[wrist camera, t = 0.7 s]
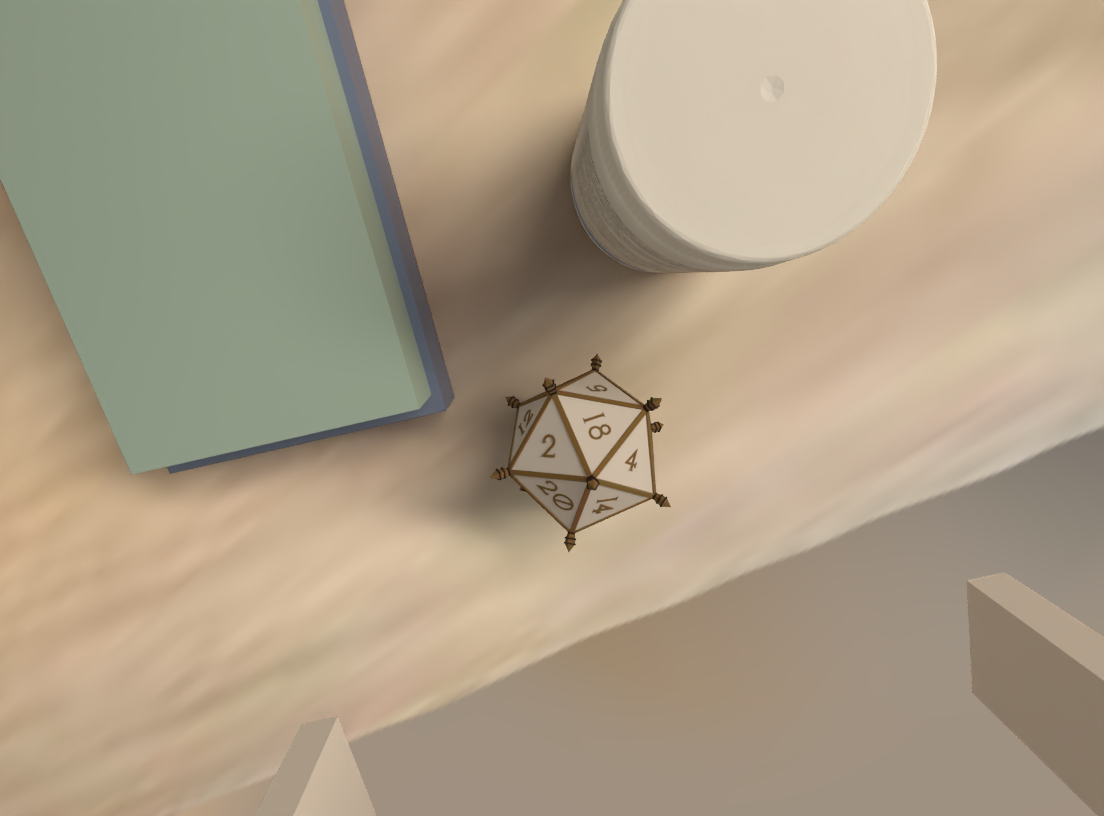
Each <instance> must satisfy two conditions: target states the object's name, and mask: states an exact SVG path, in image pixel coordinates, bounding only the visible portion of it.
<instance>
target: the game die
mask: <svg viewBox="0 0 1104 816" xmlns="http://www.w3.org/2000/svg"><path fill="white" fill-rule="evenodd" d="M591 361H592V363H591V366H592V370H590V371H588V372H586V373H584V374H582V375H580V376H578V377H576V378H573V379H571V380H569V381H567V382H565V383H563V384H561V385H559V386H556V384H554V380H550V379H548V378H545V380H544V384H543V385H542V386H543V387H544V388H545V390H546V392H544V393H541V394H539V395H537V396H535V397H533V398H531V399H529V400H527V401H524V402H522V403H519V400H518V399H515V397H514V396H513V397H506V399H507V402H508V406H512V408H517V414H516V421H515V427H514V433H513V439H512V445H511V451H510V457H509V463H508V468H506V469H504V468H502V467H501V469H496V471H495V472H494V473H493V475H492V476H491V478H495V479H498V480H502V478H503V479H504V478H506V477H507V476H508V475H509V476H511V477H512V478H513V479H514V480H515V481H516V482H517V483H518V484H519V485H520V486H521V487H520V490H522V491H525V492H527V493H528V494H529V495H530V496H531V497H532V498H533V499H534V500H535V501H536V502H538V503H539V504H540V505H541V506H542V507H543V508H544V509H545V510H546V511H547V512H548V513H549V514H550V515H551V516H552V517H553V518H554V519H555V520H556V521H557V522H558V523H559V524H560V525H561V526H562V527H563V528H565V529H566V530H567V531H568V534H567V536H566V537H565V538H566V540H565V542H564V543H565V545H566V547H567V549H568V552H569V551H570V550H571V549H572V548H573V546H574V545H576V544H575V540H576V539H575V533H576V532H578V531H581V530H583V529H585V528H587V527H590V526H592V525H594V524H596V523H599V522H601V521H603V520H605V519H608V518H610V517H612V516H614V515H617V514H619V513H621V512H623V511H626V510H628V509H630V508H632V507H635V506H637V505H639V504H641V503H643V502H646V501H648V500H650V499H654V500H655V501H656V504H657V503H658V504H659V505H660V507H662V506H663V507H671V506H670V504H669V502H668V500H667V497H664V496H663V494H662V495H660V494H657V493H656V484H655V470H654V455H653V440H652V432H654V433H656V432H657V431H658V432H660V430H661V428H662V426H663V424H661V423H659V422H655V423H652V424H651V422H650V415H649V411H653V410H654V409H657V408H658V407H659V404H660V402H661V399H662V398H652V397H651V399H650V400H647V403H646V404H645V405H644V404H642V403H641V402H640V401H638V400H637V399H636V398H634V397H633V396H632V395H630V394H629V393H627V392H626V391H625V390H623V389H622V388H621V387H619V386H618V385H617V384H615V383H614V382H612V381H611V380H610V379H608V378H607V377H606V376H604V375H603V374H602V373H600V372H599V367H601V365H600V364H601V362H602V361H601V360H600V358H599V356H598V354H597V355H596V356H595V357H594V358H593V359H591Z"/></svg>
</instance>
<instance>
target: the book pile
mask: <svg viewBox="0 0 1104 816" xmlns="http://www.w3.org/2000/svg"><path fill="white" fill-rule="evenodd" d="M0 180H1V182H2V184H3V186H4V189H5V191H6V193H7V195H8V198H9V200H10V202H11V204H12V207H13V209H14V211H15V213H16V216H17V218H18V220H19V222H20V225H21V227H22V229H23V231H24V234H25V236H26V238H27V240H28V243H29V245H30V247H31V249H32V252H33V254H34V256H35V258H36V261H37V263H38V265H39V267H40V270H41V272H42V274H43V276H44V279H45V281H46V283H47V285H48V288H49V290H50V292H51V294H52V297H53V299H54V301H55V303H56V306H57V308H58V310H59V312H60V315H61V317H62V319H63V321H64V324H65V326H66V328H67V331H68V333H69V335H70V337H71V340H72V342H73V344H74V346H75V349H76V351H77V353H78V355H79V358H80V360H81V362H82V364H83V367H84V369H85V371H86V373H87V376H88V378H89V380H90V382H91V385H92V387H93V389H94V391H95V394H96V396H97V398H98V400H99V403H100V405H101V407H102V409H103V412H104V414H105V416H106V418H107V421H108V423H109V425H110V427H111V430H112V432H113V434H114V436H115V439H116V441H117V443H118V445H119V448H120V450H121V452H122V454H123V457H124V459H125V461H126V463H127V466H128V468H129V470H130V472H131V475H133V474H137V473H142V472H146V471H150V470H155V469H159V468H164V467H168V470H169V472H170V474H171V473H175V472H179V471H184V470H188V469H193V468H197V467H201V466H206V465H210V464H215V463H219V462H223V461H228V460H232V459H236V458H241V457H245V456H250V455H254V454H258V453H263V452H267V451H272V450H276V449H280V448H285V447H289V446H293V445H298V444H302V443H307V442H311V441H315V440H320V439H324V438H329V437H333V436H337V435H342V434H346V433H351V432H355V431H359V430H364V429H368V428H372V427H377V426H381V425H386V424H390V423H394V422H399V421H403V420H408V419H412V418H416V417H421V416H425V415H429V414H434V413H438V412H443V411H446V410H447V408H448V407H449V405H450V404H451V402H452V400H453V399H454V394H453V391H452V387H451V384H450V380H449V376H448V373H447V369H446V366H445V362H444V359H443V355H442V351H441V348H440V344H439V341H438V337H437V333H436V330H435V326H434V323H433V319H432V316H431V312H430V308H429V305H428V301H427V298H426V294H425V290H424V287H423V283H422V280H421V276H420V273H419V269H418V265H417V262H416V258H415V255H414V251H413V247H412V244H411V240H410V237H409V233H408V230H407V226H406V222H405V219H404V215H403V212H402V208H401V204H400V201H399V197H398V194H397V190H396V187H395V183H394V179H393V176H392V172H391V169H390V165H389V161H388V158H387V154H386V151H385V147H384V144H383V140H382V136H381V133H380V129H379V126H378V122H377V118H376V115H375V111H374V108H373V104H372V100H371V97H370V93H369V90H368V86H367V83H366V79H365V75H364V72H363V68H362V65H361V61H360V57H359V54H358V50H357V47H356V43H355V40H354V36H353V32H352V29H351V25H350V22H349V18H348V14H347V11H346V7H345V4H344V0H0Z"/></svg>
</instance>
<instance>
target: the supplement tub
mask: <svg viewBox="0 0 1104 816" xmlns="http://www.w3.org/2000/svg"><path fill="white" fill-rule="evenodd" d="M936 74H937V54H936V40H935V32H934V26H933V21H932V17H931V14H930V10H929V6H928V2H927V0H623V2H622V4H621V6H620V7H619V9H618V11H617V13H616V15H615V17H614V19H613V21H612V22H611V25H610V28H609V30H608V33H607V35H606V38H605V40H604V43H603V46H602V50H601V53H600V55H599V58H598V62H597V66H596V69H595V73H594V76H593V80H592V83H591V87H590V91H589V94H588V98H587V102H586V106H585V110H584V113H583V116H582V120H581V123H580V128H579V132H578V135H577V139H576V143H575V146H574V150H573V155H572V162H571V175H570V178H571V191H572V197H573V201H574V205H575V209H576V212H577V214H578V217H579V220H580V222H581V224H582V226H583V228H584V229H585V231H586V232H587V234H588V235H589V237H590V238H591V239H592V241H593V242H594V243H595V244H596V245H597V246H598V247H599V248H600V249H601V250H602V251H603V252H604V253H605V254H606V255H608V256H609V257H611V258H612V259H613V260H615V261H617V262H619V263H620V264H622V265H624V266H627V267H629V268H632V269H635V270H639V271H645V272H652V273H688V272H729V271H744V270H754V269H760V268H765V267H769V266H774V265H777V264H780V263H783V262H786V261H789V260H792V259H796V258H799V257H802V256H806V255H808V254H811V253H814V252H816V251H819V250H821V249H823V248H825V247H827V246H829V245H831V244H833V243H835V242H837V241H838V240H840V239H841V238H843V237H844V236H846V235H847V234H849V233H850V232H852V231H853V230H854V229H856V228H857V227H858V226H860V225H861V224H863V223H864V222H865V221H866V220H867V219H868V218H869V217H870V216H871V215H872V214H873V213H874V212H875V211H876V210H878V209H879V208H880V206H881V205H882V204H883V203H884V202H885V201H886V199H887V198H888V197H889V196H890V195H891V193H892V192H893V191H894V190H895V188H896V187H897V185H898V184H899V182H900V181H901V179H902V178H903V177H904V175H905V173H906V172H907V170H908V168H909V166H910V164H911V163H912V161H913V159H914V157H915V155H916V153H917V151H918V148H919V146H920V144H921V141H922V139H923V136H924V134H925V131H926V128H927V124H928V121H929V117H930V114H931V109H932V105H933V100H934V93H935V85H936Z"/></svg>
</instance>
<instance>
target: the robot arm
mask: <svg viewBox="0 0 1104 816" xmlns="http://www.w3.org/2000/svg"><path fill="white" fill-rule="evenodd" d="M967 597H968V598H967V599H968V616H969V635H970V654H971V674H972V693H973V694H974V695H975V696H976V697H977V698H978V699H979V700H980V701H981V702H982V703H983V704H984V705H985V706H986V707H987V708H988V709H989V710H990V711H991V712H992V713H993V714H995V715H996V716H997V717H998V718H999V719H1000V720H1001V721H1002V722H1003V723H1004V724H1005V725H1006V726H1007V727H1008V728H1009V729H1010V730H1011V731H1012V732H1013V733H1014V734H1015V735H1016V736H1017V737H1018V738H1019V739H1020V740H1021V741H1022V742H1023V743H1024V744H1025V745H1026V746H1027V747H1028V748H1029V749H1030V750H1031V751H1032V752H1033V753H1034V754H1035V755H1036V756H1037V757H1038V758H1039V759H1040V760H1042V761H1043V762H1044V763H1045V765H1046V766H1048V767H1049V768H1050V769H1051V770H1052V771H1053V772H1054V773H1055V774H1056V775H1057V776H1058V777H1059V778H1060V779H1061V780H1062V781H1063V782H1064V783H1065V784H1066V785H1067V786H1068V787H1069V788H1070V789H1071V790H1072V791H1073V792H1074V793H1075V794H1076V795H1077V796H1078V797H1079V798H1080V799H1081V800H1082V801H1083V802H1084V803H1085V804H1086V805H1087V806H1088V807H1090V808H1091V810H1092V811H1093V812H1094V813H1096V814H1097V815H1098V816H1104V637H1103V636H1101V635H1100V634H1098V633H1097V632H1095V631H1094V630H1092V629H1091V628H1089V627H1088V626H1086V625H1085V624H1083V623H1082V622H1080V621H1079V620H1077V619H1075V618H1074V617H1072V616H1071V615H1069V614H1068V613H1066V612H1065V611H1063V610H1062V609H1060V608H1059V607H1057V606H1056V605H1054V604H1053V603H1051V602H1049V601H1048V600H1046V599H1045V598H1043V597H1042V596H1040V595H1039V594H1037V593H1036V592H1034V591H1033V590H1031V589H1029V588H1028V587H1027V586H1025V585H1023V584H1022V583H1020V582H1019V581H1017V580H1016V579H1014V578H1013V577H1011V576H1010V575H1008V574H1007V573H1005V572H1004V573H999V574H994V575H989V576H985V577H981V578H975V579H971V580H967ZM255 816H376V813H375V811H374V808H373V806H372V803H371V801H370V798H369V795H368V793H367V791H366V788H365V785H364V783H363V780H362V778H361V775H360V773H359V770H358V768H357V765H356V763H355V760H354V757H353V755H352V752H351V750H350V747H349V745H348V742H347V740H346V737H345V735H344V732H343V729H342V727H341V724H340V722H339V719H338V717H333V718H328V719H324V720H319V721H315V722H310V723H305V724H302V725H301V727H300V729H299V731H298V733H297V735H296V737H295V739H294V741H293V743H292V745H291V747H290V749H289V751H288V753H287V754H286V756H285V758H284V760H283V762H282V764H281V766H280V768H279V770H278V772H277V774H276V776H275V778H274V780H273V782H272V784H271V786H270V788H269V790H268V792H267V793H266V795H265V797H264V799H263V801H262V803H261V805H260V807H259V809H258V811H257V813H256V815H255Z"/></svg>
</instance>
